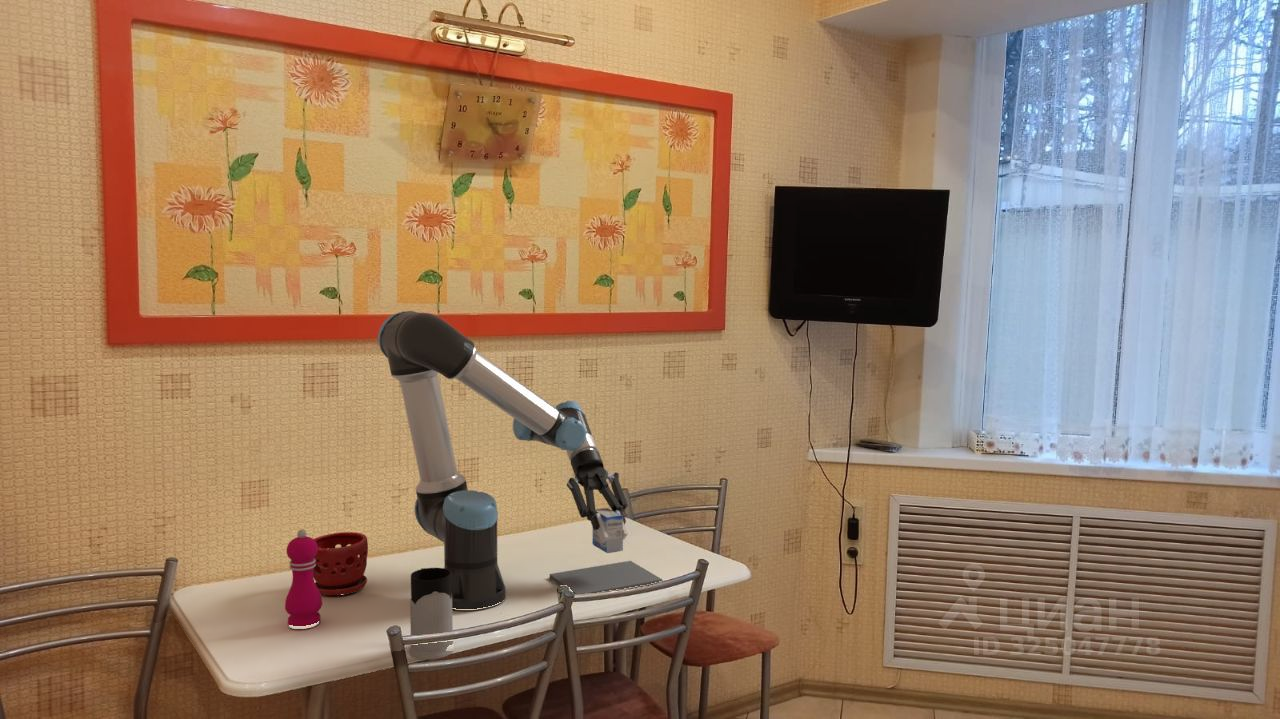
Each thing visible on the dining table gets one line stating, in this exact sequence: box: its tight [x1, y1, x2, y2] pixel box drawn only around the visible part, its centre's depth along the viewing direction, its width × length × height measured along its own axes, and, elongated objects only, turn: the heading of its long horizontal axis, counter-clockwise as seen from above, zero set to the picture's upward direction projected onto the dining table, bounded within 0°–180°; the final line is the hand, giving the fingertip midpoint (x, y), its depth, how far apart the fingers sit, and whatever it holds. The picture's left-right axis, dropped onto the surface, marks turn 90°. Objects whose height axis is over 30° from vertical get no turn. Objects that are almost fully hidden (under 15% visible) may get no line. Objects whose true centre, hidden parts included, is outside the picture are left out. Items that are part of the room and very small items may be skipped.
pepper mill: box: [284, 529, 323, 626], centre depth 180 cm, size 7×7×20 cm
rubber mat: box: [549, 560, 663, 594], centre depth 209 cm, size 22×16×1 cm
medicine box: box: [591, 507, 624, 554], centre depth 208 cm, size 8×4×9 cm, turn 29°
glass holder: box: [408, 567, 455, 660], centre depth 171 cm, size 9×14×15 cm, turn 24°
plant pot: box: [313, 531, 369, 596], centre depth 201 cm, size 13×13×12 cm
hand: (614, 538), depth 205 cm, fingers closed on medicine box, 4 cm apart
